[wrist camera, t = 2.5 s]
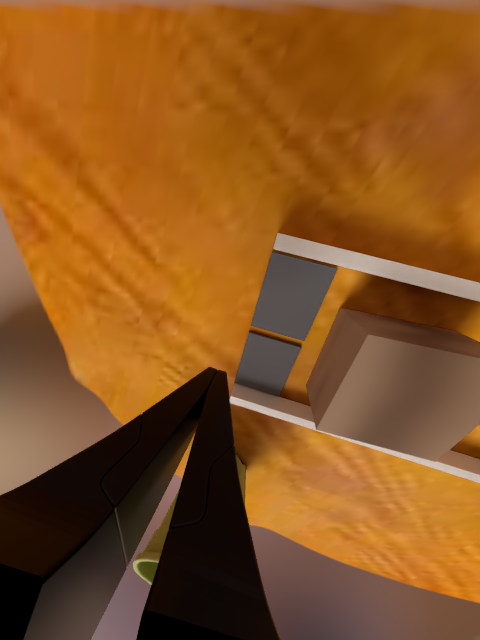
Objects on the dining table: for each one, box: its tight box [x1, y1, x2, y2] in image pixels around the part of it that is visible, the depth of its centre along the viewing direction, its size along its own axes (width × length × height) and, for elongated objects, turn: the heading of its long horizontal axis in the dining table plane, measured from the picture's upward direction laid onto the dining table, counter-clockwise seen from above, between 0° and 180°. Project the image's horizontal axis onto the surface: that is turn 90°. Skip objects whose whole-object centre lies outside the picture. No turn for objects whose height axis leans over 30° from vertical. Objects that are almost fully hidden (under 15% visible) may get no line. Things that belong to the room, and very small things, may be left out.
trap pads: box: [235, 252, 337, 396], centre depth 13 cm, size 4×11×1 cm, turn 167°
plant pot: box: [133, 455, 246, 585], centre depth 17 cm, size 9×9×9 cm
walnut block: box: [306, 307, 480, 462], centre depth 11 cm, size 7×7×4 cm
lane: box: [230, 233, 480, 483], centre depth 11 cm, size 23×13×3 cm, turn 77°
